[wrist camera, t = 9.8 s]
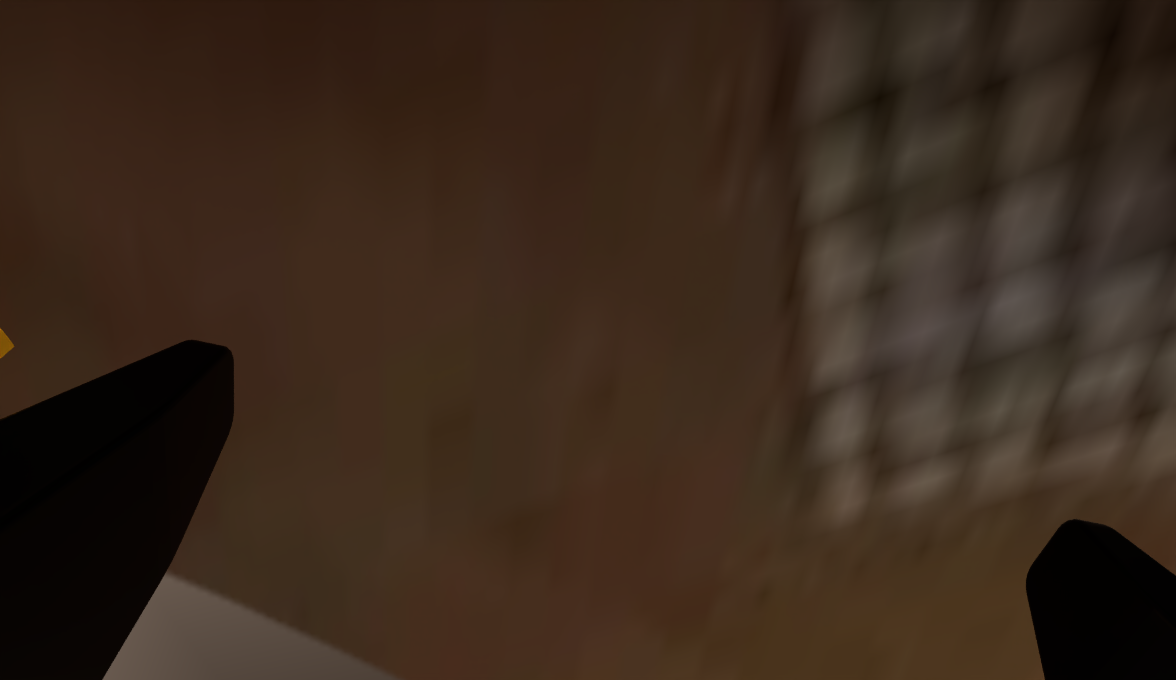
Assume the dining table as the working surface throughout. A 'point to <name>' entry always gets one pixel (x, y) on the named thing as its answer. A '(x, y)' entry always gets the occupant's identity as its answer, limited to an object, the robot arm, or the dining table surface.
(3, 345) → the pipe clamp
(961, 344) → the dining table surface
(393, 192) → the dining table surface
